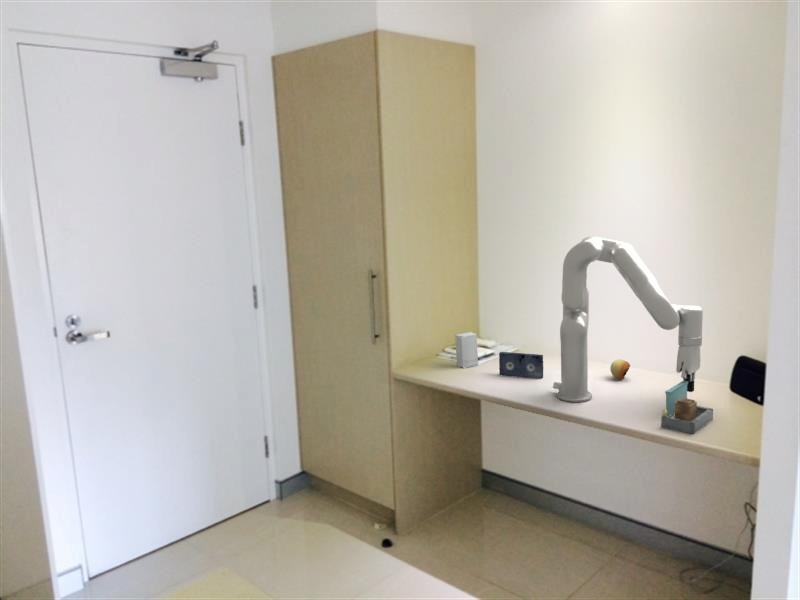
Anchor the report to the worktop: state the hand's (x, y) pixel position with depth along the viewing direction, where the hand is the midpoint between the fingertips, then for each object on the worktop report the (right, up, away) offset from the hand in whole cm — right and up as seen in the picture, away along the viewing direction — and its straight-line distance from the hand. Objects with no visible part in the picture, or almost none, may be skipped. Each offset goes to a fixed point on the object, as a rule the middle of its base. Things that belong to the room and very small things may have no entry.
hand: (688, 390), depth 228 cm
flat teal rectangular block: (-7, -6, -6) cm, 11 cm away
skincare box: (-72, +2, +62) cm, 95 cm away
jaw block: (-9, -8, -17) cm, 20 cm away
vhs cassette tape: (-51, 0, +42) cm, 67 cm away
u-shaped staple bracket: (-8, -8, -17) cm, 21 cm away
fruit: (-13, 0, +32) cm, 35 cm away
